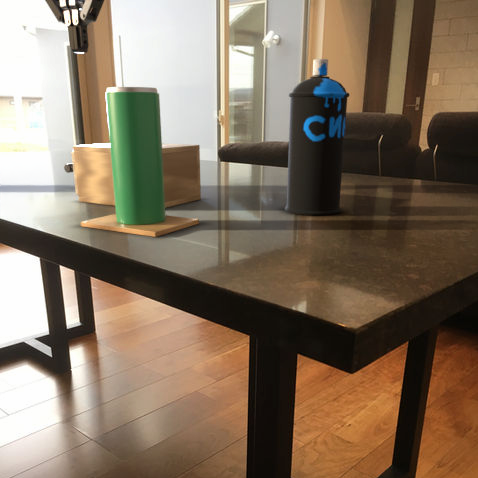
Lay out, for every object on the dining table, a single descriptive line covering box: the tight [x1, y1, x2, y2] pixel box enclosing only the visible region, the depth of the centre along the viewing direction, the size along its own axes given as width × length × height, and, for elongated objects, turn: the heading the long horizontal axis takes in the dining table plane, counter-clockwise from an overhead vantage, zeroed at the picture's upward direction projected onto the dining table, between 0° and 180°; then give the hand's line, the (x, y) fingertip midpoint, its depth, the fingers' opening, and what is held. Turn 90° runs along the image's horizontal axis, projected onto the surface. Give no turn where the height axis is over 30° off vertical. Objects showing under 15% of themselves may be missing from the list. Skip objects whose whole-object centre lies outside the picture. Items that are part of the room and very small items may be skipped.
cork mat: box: [80, 213, 200, 238], centre depth 66 cm, size 12×9×1 cm
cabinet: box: [72, 142, 202, 209], centre depth 83 cm, size 16×12×9 cm
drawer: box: [63, 150, 79, 196], centre depth 85 cm, size 19×11×7 cm, turn 60°
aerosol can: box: [284, 58, 350, 216], centre depth 73 cm, size 8×8×20 cm
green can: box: [105, 86, 166, 225], centre depth 64 cm, size 6×6×16 cm
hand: (80, 52), depth 86 cm, fingers closed
